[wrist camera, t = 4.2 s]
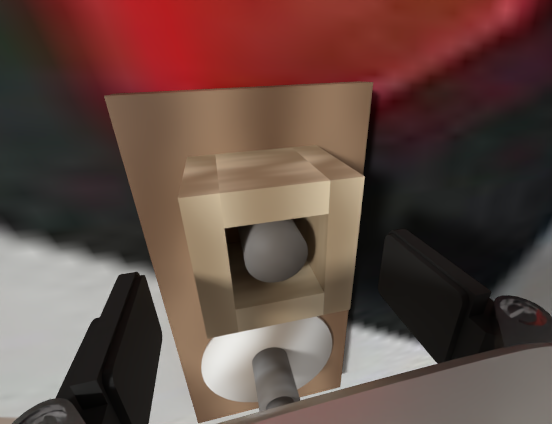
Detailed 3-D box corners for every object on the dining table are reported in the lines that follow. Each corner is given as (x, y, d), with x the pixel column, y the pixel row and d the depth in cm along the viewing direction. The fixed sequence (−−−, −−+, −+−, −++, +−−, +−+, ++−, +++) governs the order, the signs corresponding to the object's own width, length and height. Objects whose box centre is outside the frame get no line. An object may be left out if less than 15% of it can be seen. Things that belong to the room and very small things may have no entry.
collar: (316, 145, 14) (364, 176, 10) (313, 249, 17) (350, 309, 13) (187, 156, 13) (177, 197, 9) (206, 266, 16) (207, 338, 12)
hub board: (358, 81, 15) (441, 85, 10) (333, 370, 26) (365, 447, 20) (114, 93, 13) (50, 107, 8) (198, 403, 24) (196, 498, 18)
